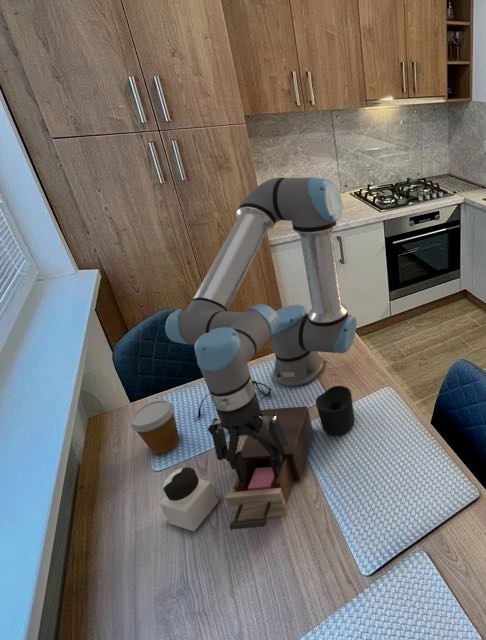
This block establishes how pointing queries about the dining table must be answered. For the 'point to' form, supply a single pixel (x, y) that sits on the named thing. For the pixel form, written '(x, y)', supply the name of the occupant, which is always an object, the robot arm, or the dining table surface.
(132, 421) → the disposable coffee cup
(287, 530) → the dining table surface
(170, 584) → the dining table surface
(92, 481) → the dining table surface
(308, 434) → the cabinet
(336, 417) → the pen holder
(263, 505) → the drawer
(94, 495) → the dining table surface
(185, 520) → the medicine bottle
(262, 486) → the block
